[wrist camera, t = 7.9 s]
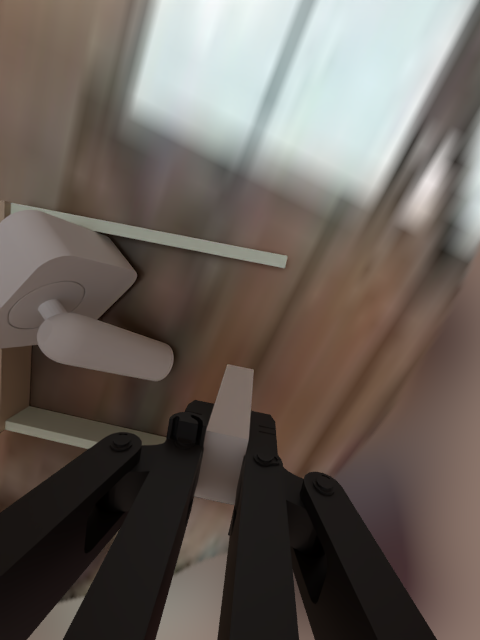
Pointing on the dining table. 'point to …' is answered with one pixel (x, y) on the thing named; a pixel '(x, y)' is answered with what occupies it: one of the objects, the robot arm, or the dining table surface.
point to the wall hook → (70, 297)
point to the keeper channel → (15, 363)
